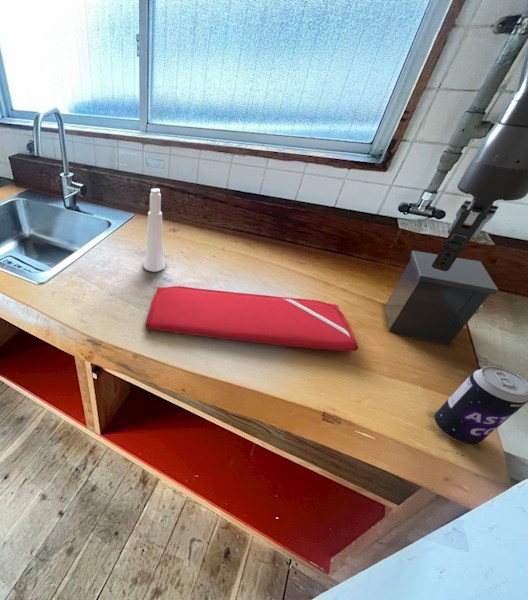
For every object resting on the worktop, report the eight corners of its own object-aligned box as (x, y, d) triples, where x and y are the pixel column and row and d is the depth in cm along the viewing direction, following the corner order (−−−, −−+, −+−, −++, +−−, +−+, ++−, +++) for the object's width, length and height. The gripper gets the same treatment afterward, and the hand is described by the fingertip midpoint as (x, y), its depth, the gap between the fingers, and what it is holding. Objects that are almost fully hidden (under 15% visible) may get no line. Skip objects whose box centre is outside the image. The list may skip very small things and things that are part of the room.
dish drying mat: (157, 290, 82) (157, 278, 80) (333, 310, 74) (338, 297, 72) (145, 331, 70) (145, 318, 68) (353, 360, 62) (361, 346, 59)
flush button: (471, 308, 64) (480, 297, 62) (475, 316, 62) (484, 305, 60) (453, 305, 65) (461, 294, 64) (456, 312, 63) (465, 301, 62)
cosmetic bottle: (139, 265, 93) (138, 189, 80) (156, 259, 96) (157, 184, 82) (152, 274, 89) (153, 195, 76) (169, 267, 92) (172, 190, 78)
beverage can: (440, 441, 48) (491, 392, 41) (424, 410, 53) (468, 360, 46) (486, 451, 47) (548, 402, 40) (467, 418, 51) (519, 368, 44)
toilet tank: (441, 316, 71) (480, 261, 62) (452, 347, 63) (498, 290, 55) (382, 303, 75) (412, 250, 67) (386, 331, 68) (420, 275, 59)
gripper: (544, 175, 39) (465, 284, 49) (552, 154, 47) (482, 253, 56) (464, 165, 44) (406, 266, 54) (483, 147, 51) (429, 239, 61)
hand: (445, 259), depth 55 cm, fingers open, 8 cm apart
